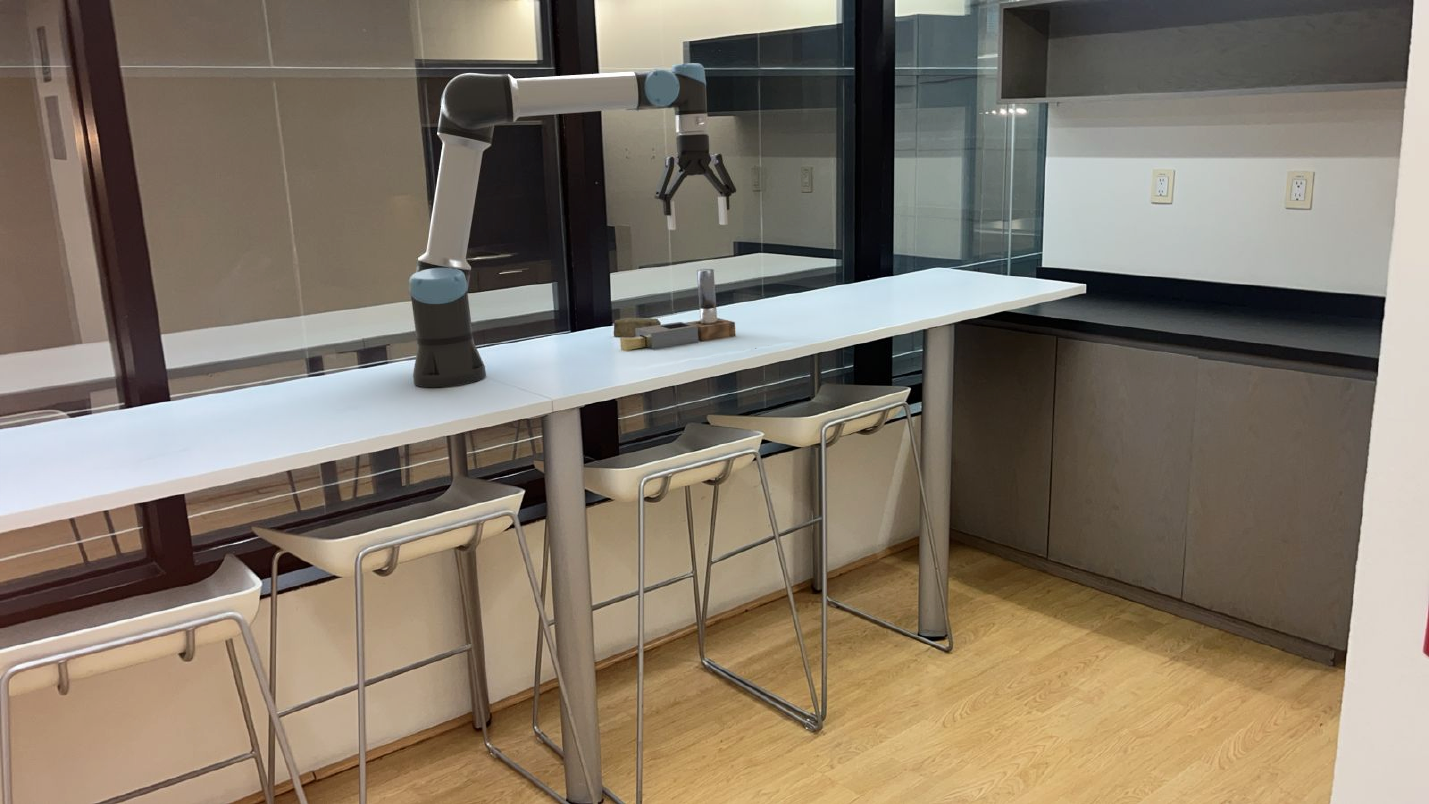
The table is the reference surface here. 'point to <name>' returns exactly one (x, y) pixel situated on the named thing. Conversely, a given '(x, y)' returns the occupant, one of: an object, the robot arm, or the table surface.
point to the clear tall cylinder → (707, 296)
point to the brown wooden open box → (715, 330)
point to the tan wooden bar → (633, 343)
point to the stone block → (632, 326)
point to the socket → (668, 335)
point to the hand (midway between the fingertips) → (698, 227)
